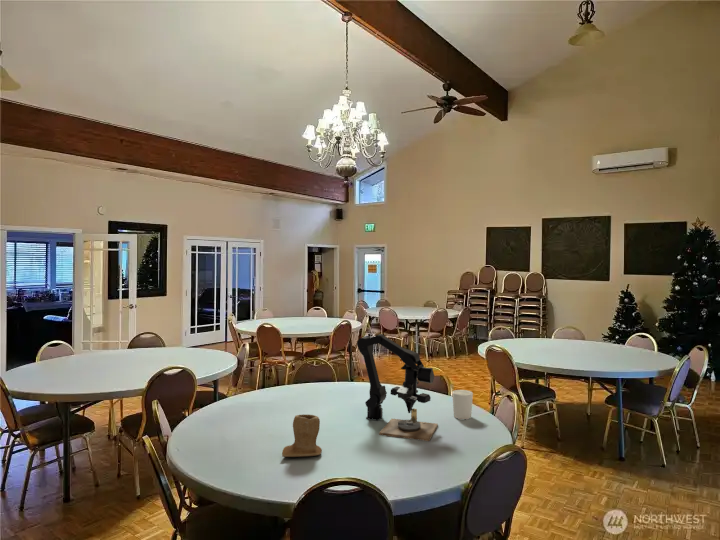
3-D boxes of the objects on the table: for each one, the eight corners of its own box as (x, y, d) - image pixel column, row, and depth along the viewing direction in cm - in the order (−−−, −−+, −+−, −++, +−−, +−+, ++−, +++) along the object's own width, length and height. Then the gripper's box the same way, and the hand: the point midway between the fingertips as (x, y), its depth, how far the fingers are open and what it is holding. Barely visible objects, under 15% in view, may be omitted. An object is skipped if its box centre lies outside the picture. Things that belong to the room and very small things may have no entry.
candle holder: (449, 418, 223) (449, 393, 223) (455, 412, 232) (455, 388, 232) (469, 421, 218) (469, 396, 218) (475, 415, 227) (475, 391, 227)
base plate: (379, 434, 201) (379, 431, 201) (391, 420, 220) (391, 417, 220) (429, 441, 193) (429, 438, 193) (437, 425, 212) (437, 423, 212)
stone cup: (321, 447, 187) (321, 410, 187) (322, 459, 175) (322, 419, 175) (283, 449, 185) (283, 411, 185) (281, 461, 173) (281, 421, 173)
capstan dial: (417, 432, 200) (417, 419, 200) (395, 429, 204) (395, 416, 204) (425, 422, 213) (425, 409, 213) (404, 419, 217) (404, 407, 217)
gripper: (384, 378, 214) (382, 411, 214) (419, 387, 203) (417, 422, 203) (397, 374, 223) (396, 406, 223) (431, 382, 211) (430, 416, 212)
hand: (409, 412), depth 215 cm, fingers closed
